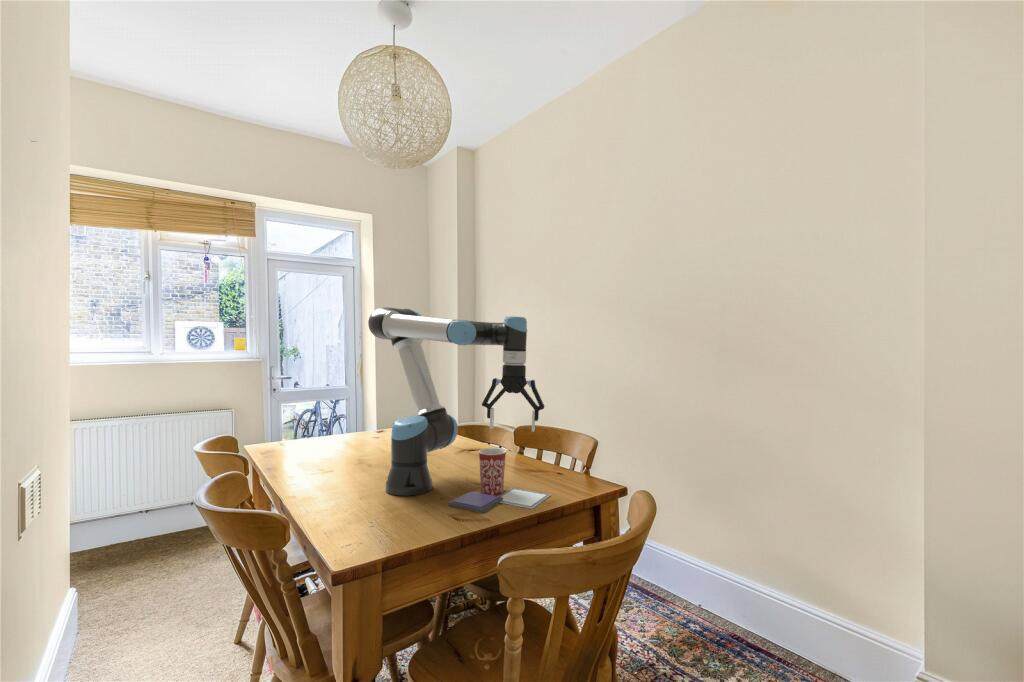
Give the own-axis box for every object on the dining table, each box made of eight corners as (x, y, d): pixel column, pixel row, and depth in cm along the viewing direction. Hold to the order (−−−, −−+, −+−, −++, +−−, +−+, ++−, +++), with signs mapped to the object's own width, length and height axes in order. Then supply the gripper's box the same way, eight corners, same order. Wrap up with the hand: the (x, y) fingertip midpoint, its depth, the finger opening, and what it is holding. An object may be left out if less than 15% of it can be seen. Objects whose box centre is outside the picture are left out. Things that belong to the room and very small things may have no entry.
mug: (506, 496, 146) (506, 454, 147) (478, 497, 146) (478, 454, 146) (505, 484, 159) (505, 445, 159) (478, 484, 159) (479, 445, 159)
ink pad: (448, 505, 138) (448, 501, 138) (470, 494, 148) (470, 490, 148) (482, 513, 132) (482, 508, 132) (502, 500, 143) (502, 496, 143)
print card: (491, 501, 142) (491, 499, 142) (512, 488, 155) (512, 487, 155) (532, 508, 136) (532, 507, 136) (551, 495, 148) (551, 494, 148)
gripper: (474, 363, 148) (472, 429, 148) (552, 366, 144) (550, 434, 144) (479, 362, 155) (477, 425, 155) (553, 365, 152) (551, 429, 152)
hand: (512, 429), depth 150 cm, fingers open, 13 cm apart
